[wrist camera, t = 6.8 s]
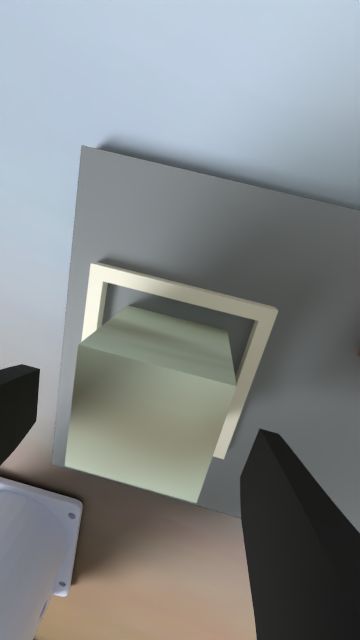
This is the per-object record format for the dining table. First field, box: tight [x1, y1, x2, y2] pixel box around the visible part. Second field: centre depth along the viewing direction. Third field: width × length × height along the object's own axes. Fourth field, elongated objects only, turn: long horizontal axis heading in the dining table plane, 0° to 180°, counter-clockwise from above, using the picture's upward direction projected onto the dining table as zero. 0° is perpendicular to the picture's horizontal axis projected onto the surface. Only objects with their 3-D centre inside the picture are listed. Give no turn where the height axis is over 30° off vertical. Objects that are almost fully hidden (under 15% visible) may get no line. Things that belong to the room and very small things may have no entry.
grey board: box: [51, 145, 360, 533], centre depth 12 cm, size 16×20×1 cm
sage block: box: [65, 305, 237, 503], centre depth 10 cm, size 4×4×4 cm
